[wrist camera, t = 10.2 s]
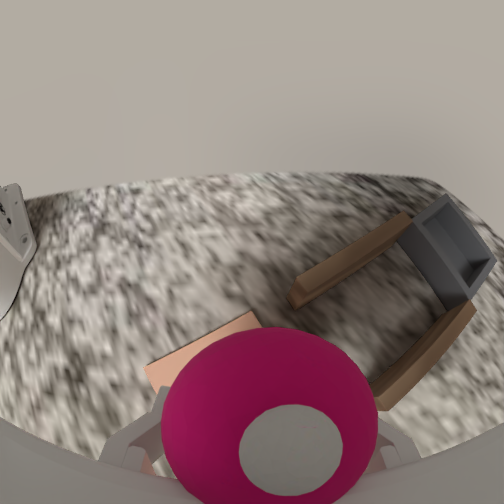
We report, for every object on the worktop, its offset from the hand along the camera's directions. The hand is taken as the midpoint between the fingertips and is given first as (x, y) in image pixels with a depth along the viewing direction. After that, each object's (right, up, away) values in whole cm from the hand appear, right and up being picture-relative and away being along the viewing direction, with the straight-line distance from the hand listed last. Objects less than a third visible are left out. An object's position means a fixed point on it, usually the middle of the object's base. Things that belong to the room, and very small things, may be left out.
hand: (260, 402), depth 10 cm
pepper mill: (-1, -6, +11) cm, 12 cm away
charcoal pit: (+23, +5, +19) cm, 30 cm away
